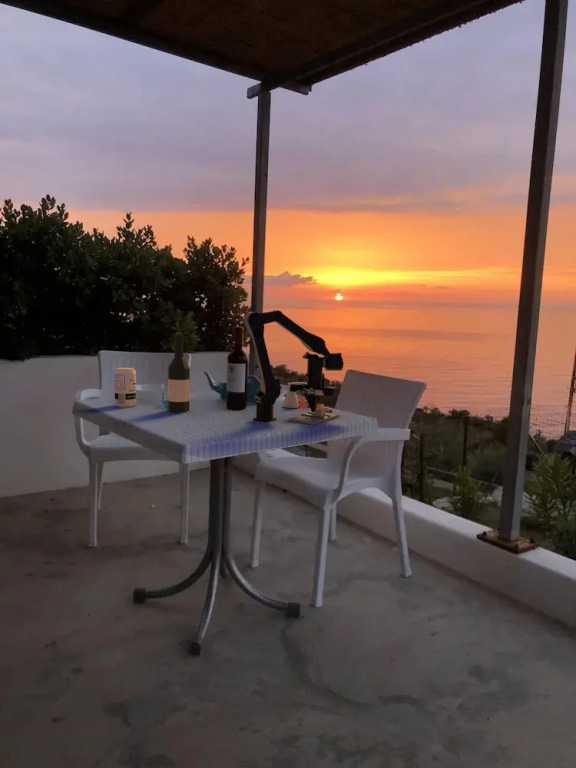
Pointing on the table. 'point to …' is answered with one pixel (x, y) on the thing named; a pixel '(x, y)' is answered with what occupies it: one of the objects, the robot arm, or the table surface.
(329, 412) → the cables
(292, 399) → the flask
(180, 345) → the wine bottle
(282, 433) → the table surface
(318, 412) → the toggle
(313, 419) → the panel
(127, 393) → the supplement can
